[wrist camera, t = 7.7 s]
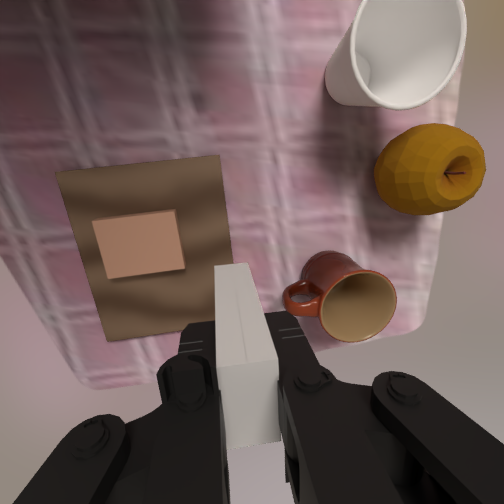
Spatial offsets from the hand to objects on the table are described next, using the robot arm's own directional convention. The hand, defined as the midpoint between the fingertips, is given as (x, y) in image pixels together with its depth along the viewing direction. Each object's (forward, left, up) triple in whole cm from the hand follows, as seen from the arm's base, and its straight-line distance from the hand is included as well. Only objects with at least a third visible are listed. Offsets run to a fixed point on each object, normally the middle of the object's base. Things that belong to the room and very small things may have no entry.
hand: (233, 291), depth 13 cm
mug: (+11, +12, -25) cm, 29 cm away
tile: (+3, -5, -22) cm, 23 cm away
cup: (-13, +17, -25) cm, 32 cm away
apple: (-2, +23, -25) cm, 34 cm away
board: (+5, -8, -24) cm, 26 cm away
